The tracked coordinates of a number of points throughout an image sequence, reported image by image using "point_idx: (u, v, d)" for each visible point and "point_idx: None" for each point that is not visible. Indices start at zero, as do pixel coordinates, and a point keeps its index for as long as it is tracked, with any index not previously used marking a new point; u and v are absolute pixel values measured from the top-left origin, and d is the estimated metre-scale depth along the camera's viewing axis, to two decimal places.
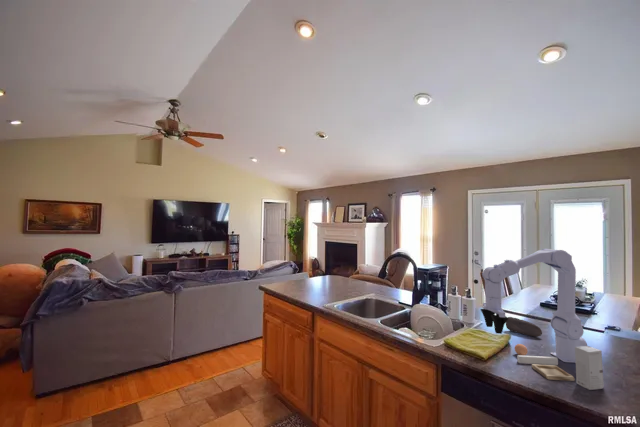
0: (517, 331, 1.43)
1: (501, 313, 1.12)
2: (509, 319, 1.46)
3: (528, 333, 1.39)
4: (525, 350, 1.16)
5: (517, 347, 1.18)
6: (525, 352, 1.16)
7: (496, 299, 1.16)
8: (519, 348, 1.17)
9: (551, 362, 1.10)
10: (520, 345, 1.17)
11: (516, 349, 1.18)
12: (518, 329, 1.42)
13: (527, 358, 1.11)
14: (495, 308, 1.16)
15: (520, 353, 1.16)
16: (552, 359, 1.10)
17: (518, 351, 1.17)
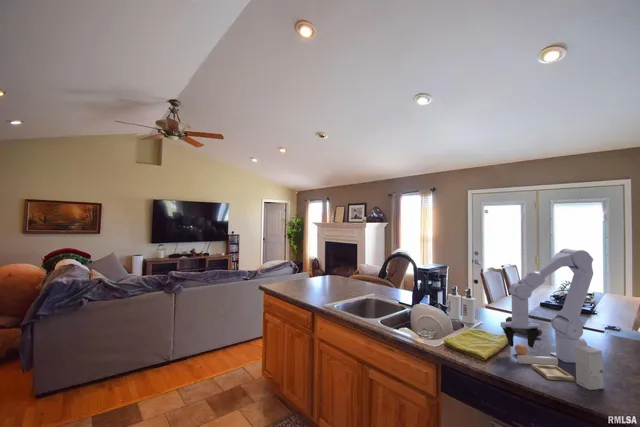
0: (517, 331, 1.43)
1: (501, 323, 1.20)
2: (509, 319, 1.46)
3: None
4: (525, 350, 1.16)
5: (517, 347, 1.18)
6: (525, 352, 1.16)
7: (512, 314, 1.19)
8: (519, 348, 1.17)
9: (551, 362, 1.10)
10: (520, 345, 1.17)
11: (516, 349, 1.18)
12: (518, 329, 1.42)
13: (527, 358, 1.11)
14: (512, 322, 1.19)
15: (520, 353, 1.16)
16: (552, 359, 1.10)
17: (518, 351, 1.17)
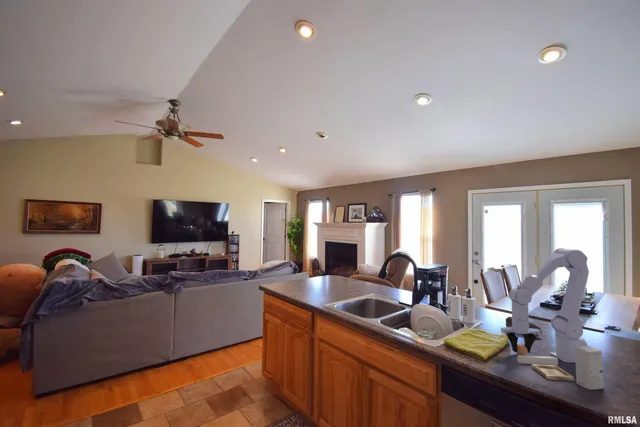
0: None
1: (501, 328, 1.20)
2: (509, 319, 1.46)
3: None
4: (525, 350, 1.16)
5: (517, 347, 1.18)
6: (525, 352, 1.16)
7: (513, 319, 1.19)
8: (519, 348, 1.17)
9: (551, 362, 1.10)
10: (520, 345, 1.17)
11: None
12: None
13: (527, 358, 1.11)
14: (512, 327, 1.19)
15: (520, 353, 1.16)
16: (552, 359, 1.10)
17: (518, 351, 1.17)
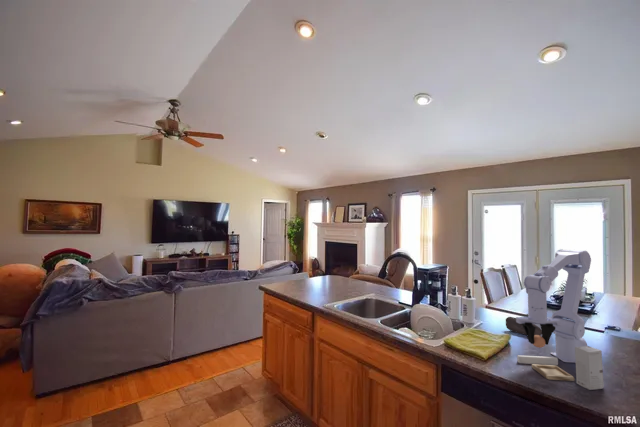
0: (517, 331, 1.43)
1: (516, 318, 1.11)
2: (509, 319, 1.46)
3: None
4: (543, 341, 1.07)
5: (534, 338, 1.09)
6: (543, 344, 1.07)
7: (529, 308, 1.10)
8: (536, 340, 1.08)
9: (551, 362, 1.10)
10: (537, 336, 1.09)
11: None
12: (518, 329, 1.42)
13: (527, 358, 1.11)
14: (528, 317, 1.10)
15: (537, 345, 1.08)
16: (552, 359, 1.10)
17: (535, 342, 1.08)
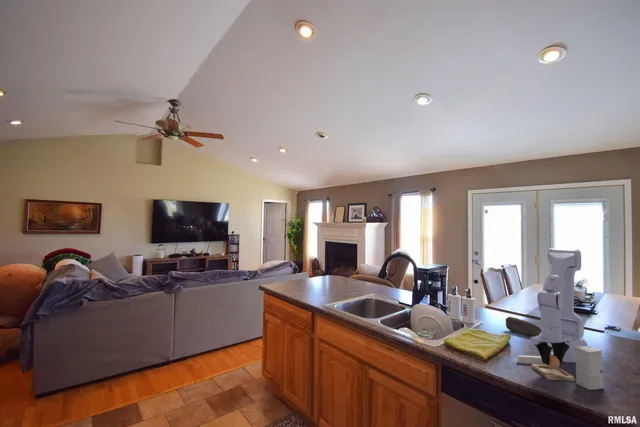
0: (517, 331, 1.43)
1: (532, 338, 1.03)
2: (509, 319, 1.46)
3: (528, 333, 1.39)
4: (558, 362, 1.01)
5: None
6: (558, 364, 1.01)
7: (543, 327, 1.03)
8: (551, 360, 1.01)
9: None
10: (552, 356, 1.02)
11: None
12: (518, 329, 1.42)
13: (527, 358, 1.11)
14: (542, 336, 1.04)
15: (552, 366, 1.01)
16: None
17: (550, 363, 1.01)
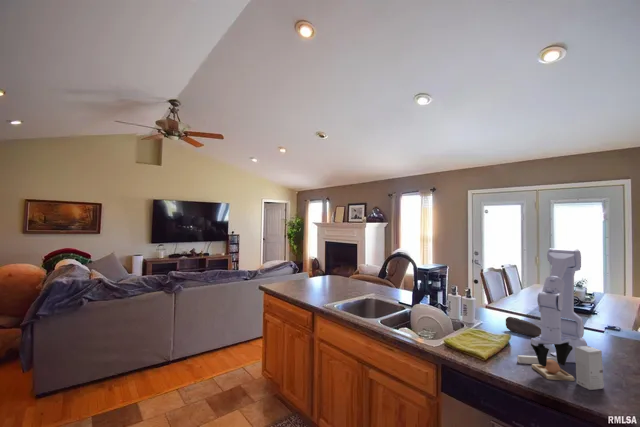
0: (517, 331, 1.43)
1: (532, 340, 1.03)
2: (509, 319, 1.46)
3: (528, 333, 1.39)
4: (558, 367, 1.01)
5: (549, 364, 1.02)
6: (558, 369, 1.01)
7: (543, 328, 1.03)
8: (552, 365, 1.01)
9: None
10: (552, 361, 1.02)
11: (548, 366, 1.02)
12: (518, 329, 1.42)
13: (527, 358, 1.11)
14: (542, 337, 1.04)
15: (553, 371, 1.01)
16: (552, 359, 1.10)
17: (551, 369, 1.01)
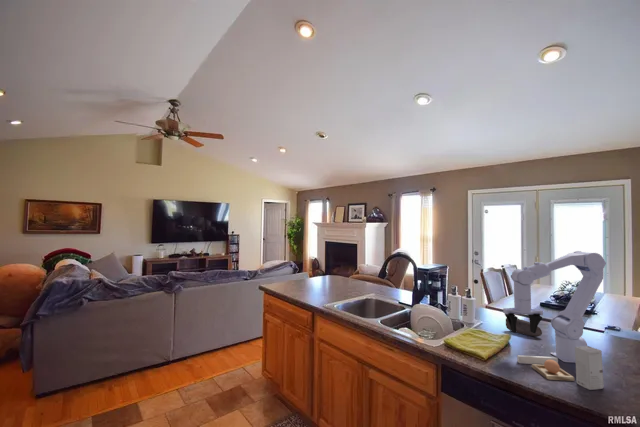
0: (517, 331, 1.43)
1: (503, 309, 1.20)
2: None
3: (528, 333, 1.39)
4: (558, 367, 1.01)
5: (549, 364, 1.02)
6: (558, 369, 1.01)
7: (515, 300, 1.19)
8: (552, 366, 1.01)
9: None
10: (552, 361, 1.02)
11: (548, 366, 1.02)
12: (518, 329, 1.42)
13: (527, 358, 1.11)
14: (514, 308, 1.20)
15: (553, 371, 1.01)
16: (552, 359, 1.10)
17: (551, 369, 1.01)
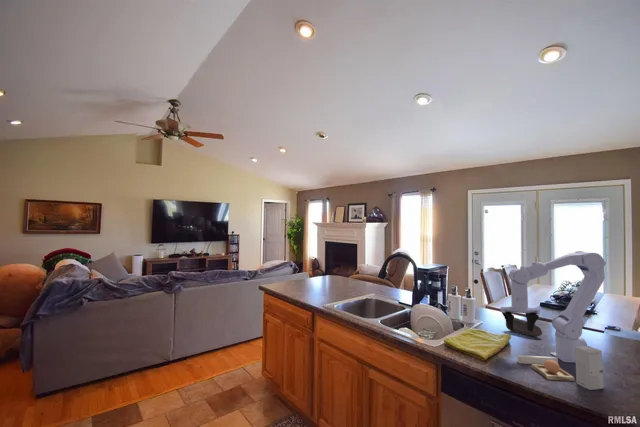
0: (517, 331, 1.43)
1: (501, 308, 1.22)
2: None
3: (528, 333, 1.39)
4: (558, 367, 1.01)
5: (549, 364, 1.02)
6: (558, 369, 1.01)
7: (512, 298, 1.21)
8: (552, 366, 1.01)
9: None
10: (552, 361, 1.02)
11: (548, 366, 1.02)
12: (518, 329, 1.42)
13: (527, 358, 1.11)
14: (511, 306, 1.22)
15: (553, 371, 1.01)
16: (552, 359, 1.10)
17: (551, 369, 1.01)
